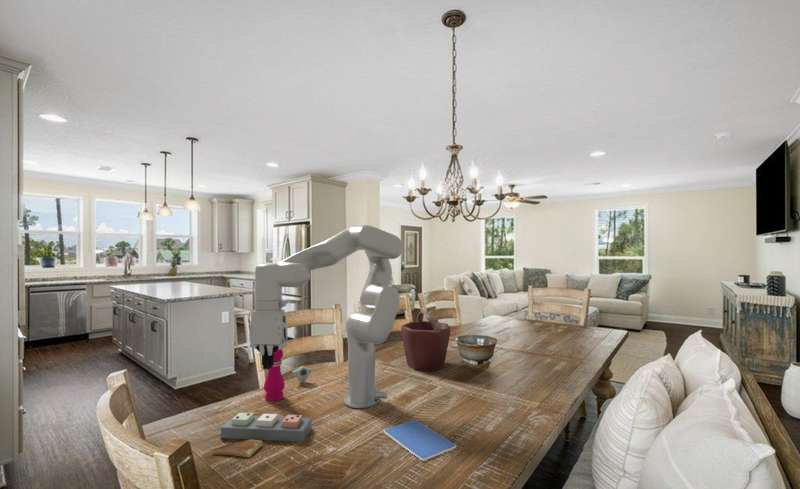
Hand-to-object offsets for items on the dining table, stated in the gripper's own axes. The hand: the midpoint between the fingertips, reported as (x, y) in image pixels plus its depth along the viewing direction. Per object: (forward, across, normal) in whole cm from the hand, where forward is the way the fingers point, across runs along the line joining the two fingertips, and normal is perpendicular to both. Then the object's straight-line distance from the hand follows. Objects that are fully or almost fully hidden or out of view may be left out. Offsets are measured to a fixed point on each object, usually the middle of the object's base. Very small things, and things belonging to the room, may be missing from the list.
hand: (267, 367), depth 111 cm
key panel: (+19, 0, 0) cm, 19 cm away
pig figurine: (+19, +4, -41) cm, 45 cm away
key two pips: (+16, +7, 0) cm, 18 cm away
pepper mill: (+19, +8, -25) cm, 33 cm away
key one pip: (+17, 0, 0) cm, 17 cm away
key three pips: (+16, -7, 0) cm, 18 cm away
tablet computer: (+20, -44, 0) cm, 49 cm away
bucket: (+19, -46, -68) cm, 84 cm away
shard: (+20, +3, +11) cm, 23 cm away
